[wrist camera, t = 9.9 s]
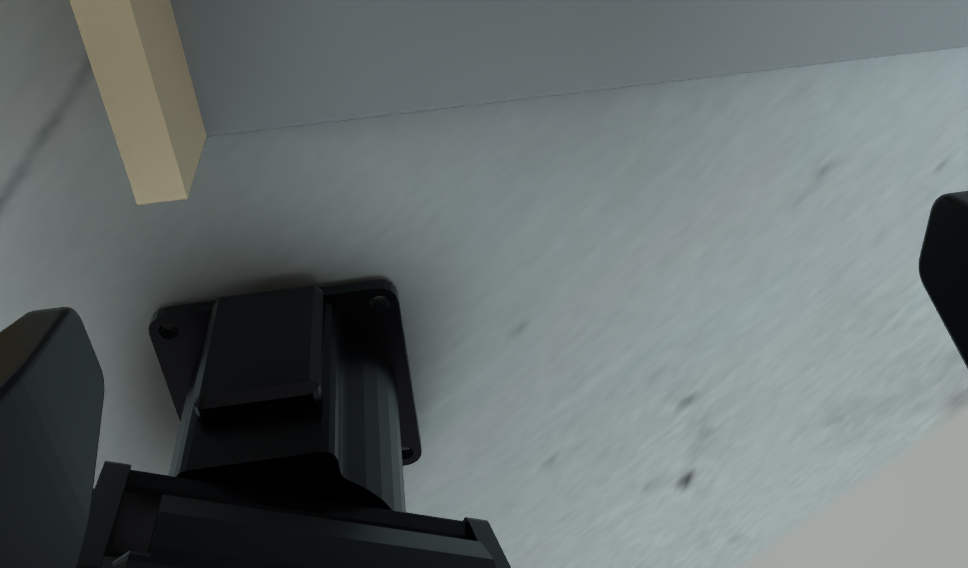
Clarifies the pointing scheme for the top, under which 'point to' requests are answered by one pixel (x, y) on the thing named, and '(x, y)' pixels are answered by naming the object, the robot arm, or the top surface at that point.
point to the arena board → (440, 58)
